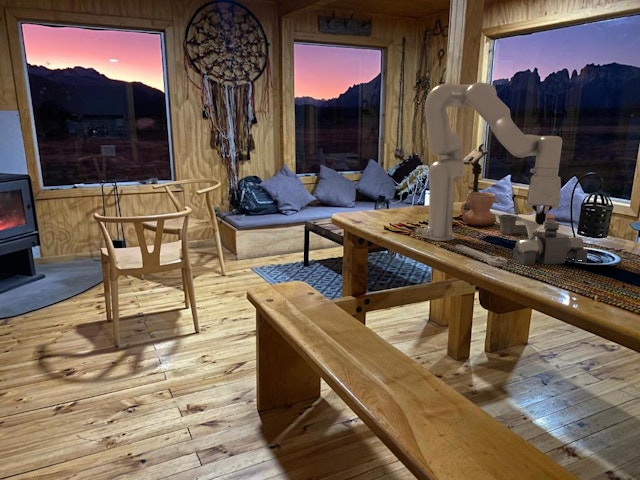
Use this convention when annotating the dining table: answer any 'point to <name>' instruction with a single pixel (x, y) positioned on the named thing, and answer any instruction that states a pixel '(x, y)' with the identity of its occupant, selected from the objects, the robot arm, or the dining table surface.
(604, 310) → the dining table surface
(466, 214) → the ceramic jug
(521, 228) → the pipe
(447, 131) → the robot arm
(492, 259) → the adjustable wrench
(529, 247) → the valve body
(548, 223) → the lever
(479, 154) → the bird statue
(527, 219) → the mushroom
